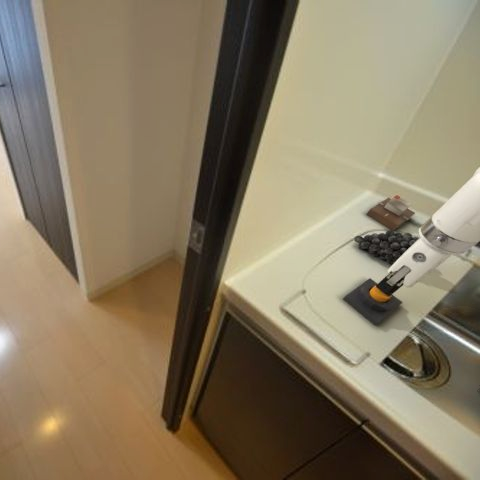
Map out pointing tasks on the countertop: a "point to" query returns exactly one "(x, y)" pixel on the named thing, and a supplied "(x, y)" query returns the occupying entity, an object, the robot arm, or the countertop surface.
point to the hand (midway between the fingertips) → (384, 289)
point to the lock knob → (397, 205)
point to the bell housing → (370, 303)
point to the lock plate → (388, 215)
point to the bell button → (378, 295)
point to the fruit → (386, 244)
